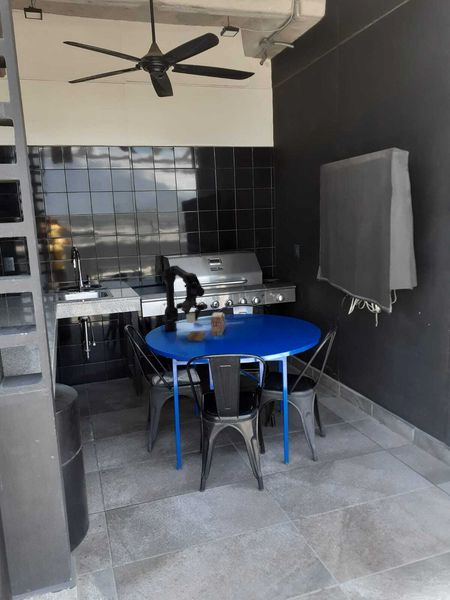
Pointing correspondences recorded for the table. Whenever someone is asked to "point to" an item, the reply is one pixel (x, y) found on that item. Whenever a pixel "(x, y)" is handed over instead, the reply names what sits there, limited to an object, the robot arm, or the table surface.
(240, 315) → the table surface
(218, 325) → the stack of blocks
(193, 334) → the walnut block
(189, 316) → the cream cube
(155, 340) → the table surface
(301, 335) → the table surface
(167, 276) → the robot arm
